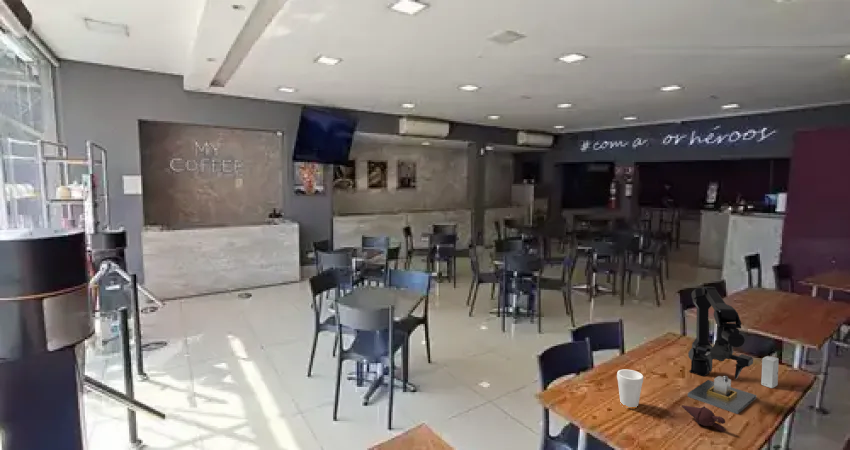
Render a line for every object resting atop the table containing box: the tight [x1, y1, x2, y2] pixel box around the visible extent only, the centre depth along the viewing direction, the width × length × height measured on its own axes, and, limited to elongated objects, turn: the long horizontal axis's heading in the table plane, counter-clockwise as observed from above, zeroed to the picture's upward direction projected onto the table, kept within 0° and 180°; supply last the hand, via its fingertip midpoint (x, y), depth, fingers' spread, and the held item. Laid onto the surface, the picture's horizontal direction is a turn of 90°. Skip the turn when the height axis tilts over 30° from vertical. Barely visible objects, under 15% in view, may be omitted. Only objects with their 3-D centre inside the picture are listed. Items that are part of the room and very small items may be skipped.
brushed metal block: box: [713, 375, 732, 397], centre depth 182 cm, size 4×4×10 cm
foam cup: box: [616, 369, 644, 407], centre depth 177 cm, size 10×9×13 cm
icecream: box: [681, 404, 726, 433], centre depth 162 cm, size 7×7×15 cm
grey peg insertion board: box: [687, 379, 757, 415], centre depth 182 cm, size 18×20×3 cm
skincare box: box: [760, 355, 780, 389], centre depth 192 cm, size 6×4×12 cm
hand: (722, 375), depth 181 cm, fingers open, 9 cm apart
